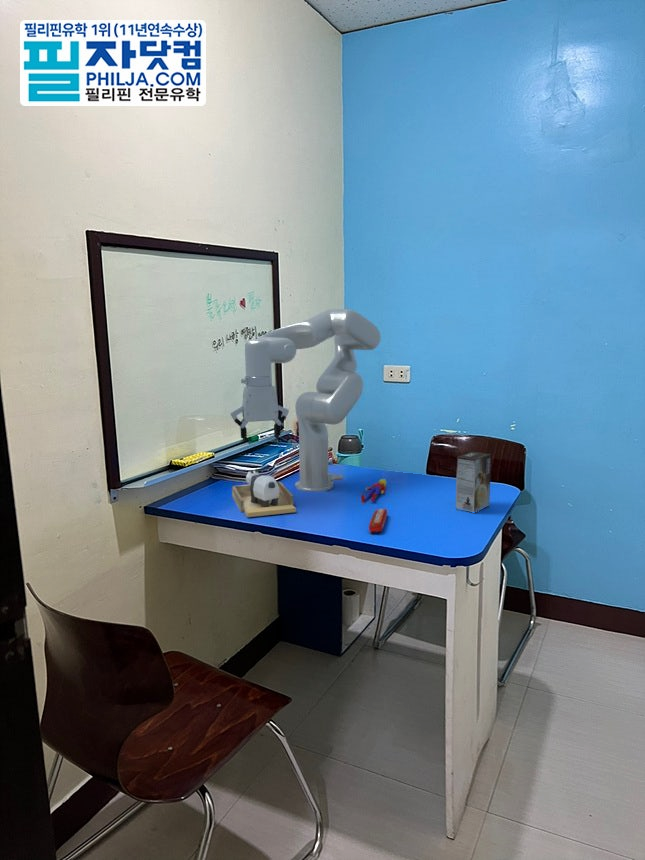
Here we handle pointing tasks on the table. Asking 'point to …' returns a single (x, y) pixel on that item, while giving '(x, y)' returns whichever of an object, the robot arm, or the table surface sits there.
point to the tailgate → (270, 510)
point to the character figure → (374, 490)
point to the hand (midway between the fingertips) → (260, 439)
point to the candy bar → (378, 520)
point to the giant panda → (263, 488)
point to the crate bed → (243, 498)
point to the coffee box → (473, 481)
